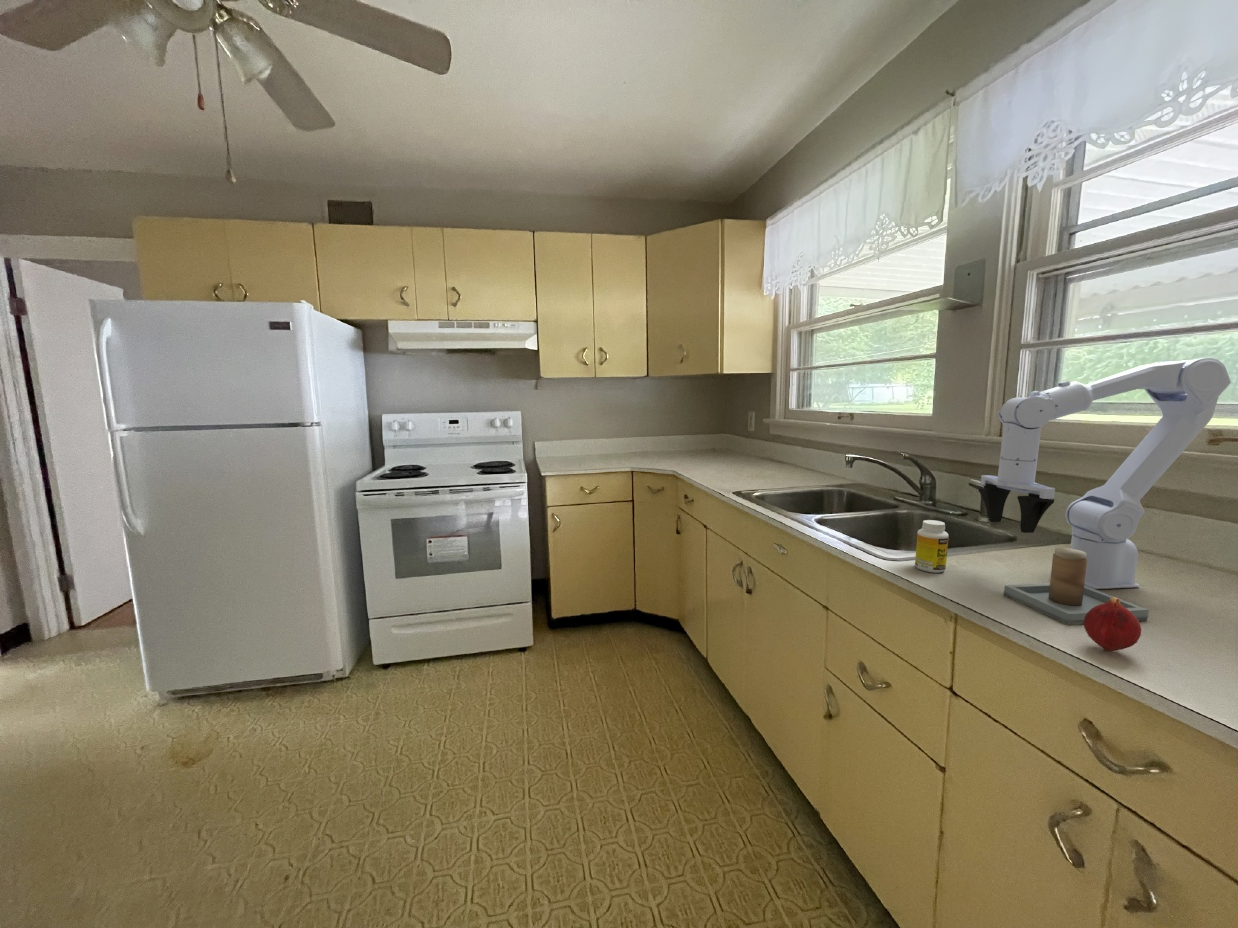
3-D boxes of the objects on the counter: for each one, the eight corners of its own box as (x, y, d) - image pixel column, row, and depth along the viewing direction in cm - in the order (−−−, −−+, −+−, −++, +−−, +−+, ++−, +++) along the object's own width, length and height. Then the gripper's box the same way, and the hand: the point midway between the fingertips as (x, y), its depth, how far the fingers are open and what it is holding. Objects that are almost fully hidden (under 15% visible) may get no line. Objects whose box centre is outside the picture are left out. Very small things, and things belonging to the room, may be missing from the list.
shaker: (1065, 595, 89) (1070, 547, 87) (1089, 605, 84) (1095, 554, 83) (1041, 596, 88) (1046, 547, 87) (1064, 606, 84) (1070, 555, 83)
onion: (1144, 666, 67) (1152, 610, 66) (1086, 654, 70) (1093, 601, 69) (1129, 647, 72) (1136, 595, 71) (1076, 637, 75) (1082, 587, 74)
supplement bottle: (938, 575, 100) (941, 527, 99) (909, 567, 105) (913, 521, 104) (950, 570, 104) (954, 522, 102) (922, 562, 108) (926, 517, 107)
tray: (1074, 591, 92) (1075, 581, 92) (1147, 620, 80) (1148, 609, 80) (1003, 594, 91) (1004, 585, 91) (1067, 624, 79) (1068, 613, 79)
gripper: (970, 454, 103) (963, 517, 105) (1032, 464, 88) (1023, 537, 90) (1001, 454, 103) (994, 517, 105) (1069, 464, 89) (1059, 536, 91)
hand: (1010, 526), depth 98 cm, fingers open, 7 cm apart
